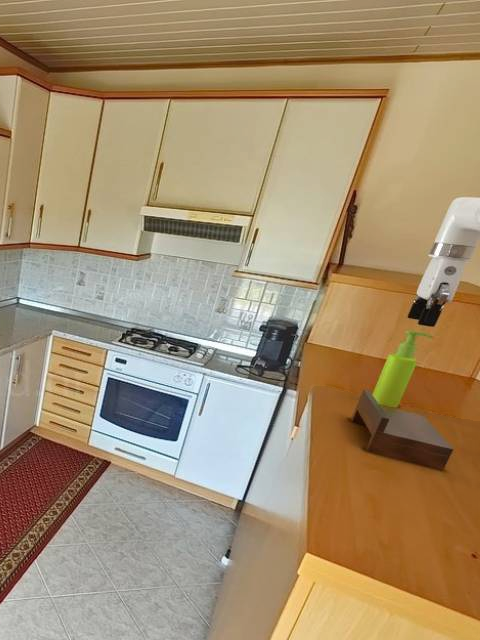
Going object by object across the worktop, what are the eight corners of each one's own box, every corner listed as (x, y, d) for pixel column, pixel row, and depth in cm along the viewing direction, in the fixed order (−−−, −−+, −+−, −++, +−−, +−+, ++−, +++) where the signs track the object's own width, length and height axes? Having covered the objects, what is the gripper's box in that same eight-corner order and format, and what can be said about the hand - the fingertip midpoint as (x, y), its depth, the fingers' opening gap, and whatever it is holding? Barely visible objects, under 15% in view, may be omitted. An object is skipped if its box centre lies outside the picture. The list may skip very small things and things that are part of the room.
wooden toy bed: (413, 435, 111) (429, 403, 108) (442, 472, 94) (461, 435, 91) (350, 420, 116) (363, 389, 113) (366, 452, 99) (382, 417, 96)
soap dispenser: (406, 410, 127) (439, 336, 120) (374, 405, 129) (405, 331, 122) (396, 403, 132) (428, 331, 125) (366, 397, 134) (395, 327, 127)
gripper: (485, 257, 108) (450, 331, 114) (458, 253, 122) (428, 319, 128) (442, 252, 111) (410, 325, 117) (421, 248, 125) (393, 314, 131)
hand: (420, 322), depth 123 cm, fingers open, 9 cm apart
